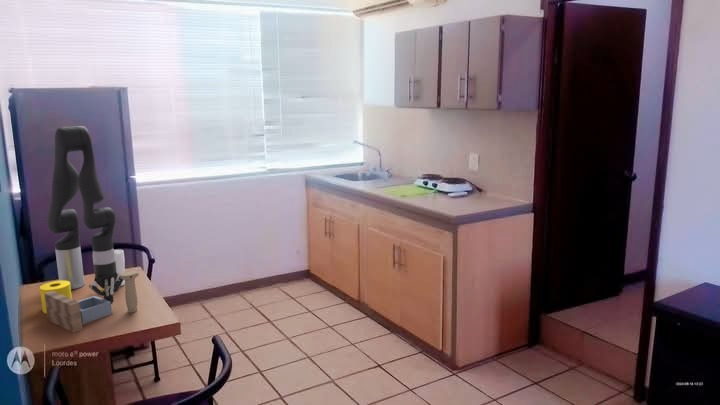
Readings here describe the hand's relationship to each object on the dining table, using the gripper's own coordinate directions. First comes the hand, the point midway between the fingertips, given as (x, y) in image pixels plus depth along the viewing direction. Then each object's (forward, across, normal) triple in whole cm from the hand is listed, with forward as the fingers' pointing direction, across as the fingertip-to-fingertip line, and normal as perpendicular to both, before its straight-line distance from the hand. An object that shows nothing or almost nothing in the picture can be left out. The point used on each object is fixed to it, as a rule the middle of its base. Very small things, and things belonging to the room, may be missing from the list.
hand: (109, 304), depth 199 cm
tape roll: (+2, +11, -16) cm, 20 cm away
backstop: (+2, +17, +1) cm, 17 cm away
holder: (+2, +8, 0) cm, 8 cm away
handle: (+2, -3, +10) cm, 11 cm away
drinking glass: (+2, -16, -21) cm, 26 cm away
